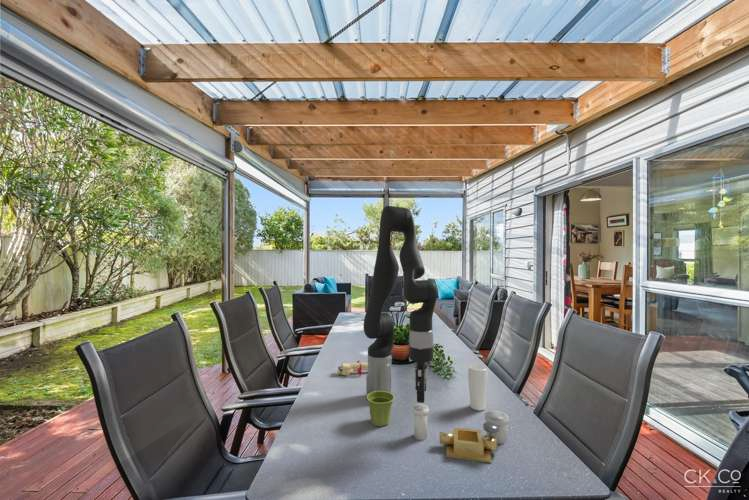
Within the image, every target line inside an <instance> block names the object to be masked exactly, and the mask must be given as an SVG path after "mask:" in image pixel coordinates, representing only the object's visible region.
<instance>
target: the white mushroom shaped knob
mask: <svg viewBox="0 0 749 500" xmlns="http://www.w3.org/2000/svg"><path fill="white" fill-rule="evenodd" d="M429 411H430V409H429V406H428V405H426V404H423V403H417V404H414V405H412V414H413V415H414V416H413V421H414V422H413V430H414V432H413V437H414V439H416V440H417V441H425V440H427V439H428V415H429V414H430V412H429ZM426 438H427V439H426Z"/></svg>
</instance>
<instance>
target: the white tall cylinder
mask: <svg viewBox="0 0 749 500" xmlns="http://www.w3.org/2000/svg"><path fill="white" fill-rule="evenodd" d="M467 370H468V371H467V372H468V373H467V378H468V388H469V389H468V390H469V391H468V392H469V404H470V405H469V406H470V408H471V409H473V410H475V411H484V410H485V409H486V399H487V387H488V368H487V366H486V365H483V364H475V363H474V364H470V365H469V366H468V368H467Z"/></svg>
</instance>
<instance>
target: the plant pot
mask: <svg viewBox="0 0 749 500" xmlns="http://www.w3.org/2000/svg"><path fill="white" fill-rule="evenodd" d="M366 401H367V404H368V407H369V415H370V422H371V423H372V425H374V426H376V427H383V426H388V425H389V424H390V419H391V412H392V405H393V402H394V401H395V395H394V394H393V393H392V392H391V393H389V392H386V391H374V392H371V393H369V394H368V395H367V400H366Z"/></svg>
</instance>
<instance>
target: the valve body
mask: <svg viewBox="0 0 749 500" xmlns="http://www.w3.org/2000/svg"><path fill="white" fill-rule="evenodd" d="M482 428H483V430H484V431H485V432H486V431H487V432H489V438H488V437H486V436H483V435H482V430H480V429H471V428H462V427H455V426H454V427H453V432H452V433H451V432H444V431H443V432H441V431H440V432H439V445H446V458H451V459H458V460H466V461H467V460H468V461H474V462H481V463H482V462H483V463H488V464H492V463H493V462H492V454H491V451H498V444H497V439H496V438H493V433H497V432H499V426H498V425H497V424H495V423H492V422H484V423H483V425H482Z"/></svg>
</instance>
